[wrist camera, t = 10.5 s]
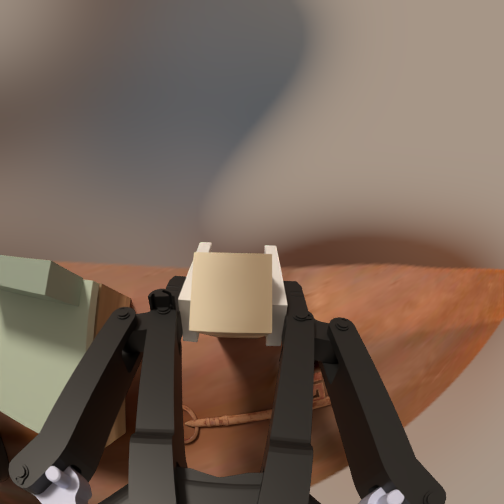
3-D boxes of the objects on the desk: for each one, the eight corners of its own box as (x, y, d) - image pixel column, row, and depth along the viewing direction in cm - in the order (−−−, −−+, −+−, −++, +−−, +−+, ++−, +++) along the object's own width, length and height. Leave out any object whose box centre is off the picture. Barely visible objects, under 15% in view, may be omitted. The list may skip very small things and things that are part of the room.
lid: (-3, 403, 12) (-39, 406, 7) (3, 269, 16) (-32, 250, 12) (95, 451, 13) (61, 473, 8) (99, 282, 17) (62, 261, 12)
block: (216, 337, 22) (189, 330, 11) (218, 297, 23) (194, 252, 12) (257, 338, 22) (272, 333, 11) (258, 298, 23) (271, 254, 12)
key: (323, 360, 23) (158, 383, 21) (326, 360, 22) (155, 384, 20) (333, 418, 20) (169, 442, 19) (336, 419, 20) (166, 445, 18)
